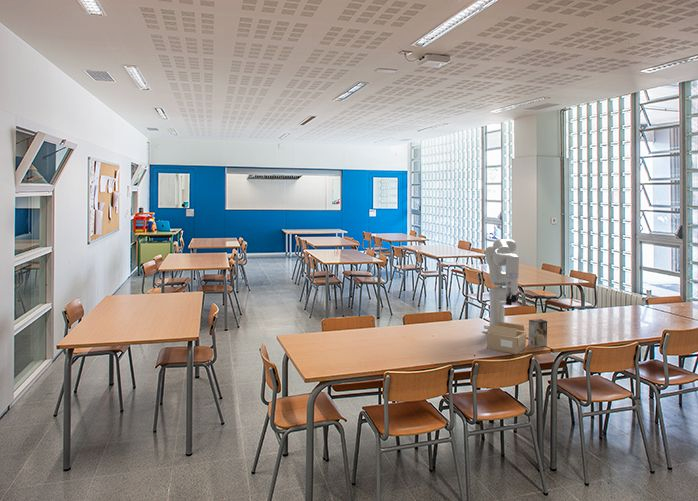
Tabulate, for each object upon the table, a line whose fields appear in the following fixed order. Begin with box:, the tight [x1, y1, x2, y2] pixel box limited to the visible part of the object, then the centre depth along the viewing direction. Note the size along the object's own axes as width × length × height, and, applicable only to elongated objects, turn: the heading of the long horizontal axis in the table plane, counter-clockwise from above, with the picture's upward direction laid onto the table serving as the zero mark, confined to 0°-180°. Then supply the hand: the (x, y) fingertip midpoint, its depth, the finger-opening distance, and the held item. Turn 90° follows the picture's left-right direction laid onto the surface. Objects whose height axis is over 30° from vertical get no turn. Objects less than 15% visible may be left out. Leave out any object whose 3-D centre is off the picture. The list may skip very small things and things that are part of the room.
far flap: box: [497, 321, 526, 332], centre depth 309 cm, size 16×5×1 cm
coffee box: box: [527, 318, 548, 348], centre depth 310 cm, size 9×6×16 cm
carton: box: [486, 330, 527, 355], centre depth 304 cm, size 19×16×10 cm
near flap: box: [489, 324, 518, 337], centre depth 298 cm, size 16×5×1 cm
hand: (511, 303), depth 302 cm, fingers open, 9 cm apart
